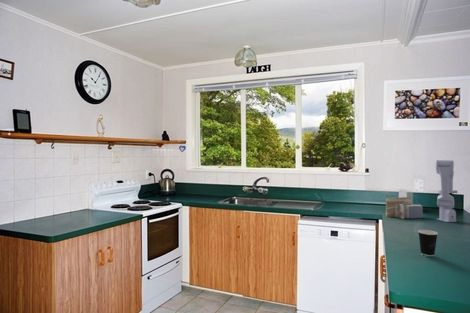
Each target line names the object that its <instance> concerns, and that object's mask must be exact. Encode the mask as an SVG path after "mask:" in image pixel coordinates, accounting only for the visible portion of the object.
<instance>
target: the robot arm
mask: <svg viewBox="0 0 470 313" xmlns="http://www.w3.org/2000/svg"><path fill="white" fill-rule="evenodd" d="M454 162H455V161H454V160H441V159H440V160H439V159H437V160H436V161H435V170H436V174H438V175H439V178H440V187H441V188H440V190H438V194H439V195H437V200H436V206H437V207H438V208H439V209H438V210H439V211H438V212H439V218H436V220H438V221H442V222H445V223H454V222H456V223H457V217H456V216H457V212H456V210H455V209H454V208H455V198H454V196H455V194H458V190H453V189H454V185H453V182H454V174H455V173H454V172H455V171H454V169H455V168H454V166H455V163H454Z"/></svg>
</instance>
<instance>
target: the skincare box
mask: <svg viewBox="0 0 470 313" xmlns="http://www.w3.org/2000/svg"><path fill="white" fill-rule="evenodd" d="M401 197H410V198H411V205H414V191H410V190H407V189H401V188H400V189H398V198H401Z"/></svg>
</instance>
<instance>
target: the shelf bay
mask: <svg viewBox="0 0 470 313" xmlns="http://www.w3.org/2000/svg"><path fill="white" fill-rule="evenodd" d="M404 205H411V198H410V197H401V198H399V197H386V198H385V218H391V217H392V218H394V217H395V218H399V219H401V220H402V219H403V220H405V217H404Z"/></svg>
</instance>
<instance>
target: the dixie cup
mask: <svg viewBox="0 0 470 313" xmlns="http://www.w3.org/2000/svg"><path fill="white" fill-rule="evenodd" d="M417 233H418V239H419V246H420V248H419V249H420V253H423V254H426V255H434V256H435V253H436V247H437V240H438V239H437V238H438V234H439V233H438V232H437V231H434V230H428V229H418V230H417Z"/></svg>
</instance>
